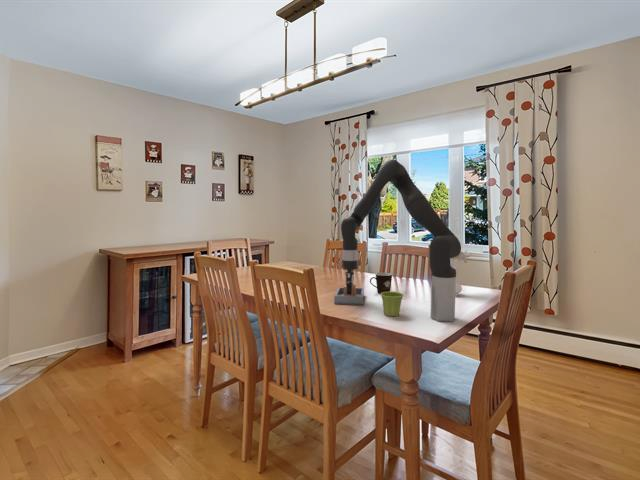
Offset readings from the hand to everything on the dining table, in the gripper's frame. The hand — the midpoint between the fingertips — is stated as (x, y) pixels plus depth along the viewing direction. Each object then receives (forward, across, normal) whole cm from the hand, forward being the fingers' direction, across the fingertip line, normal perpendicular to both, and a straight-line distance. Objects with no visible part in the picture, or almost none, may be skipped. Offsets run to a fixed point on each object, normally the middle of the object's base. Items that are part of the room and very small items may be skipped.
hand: (349, 292), depth 172 cm
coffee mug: (+4, +16, -15) cm, 22 cm away
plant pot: (+4, -22, -19) cm, 29 cm away
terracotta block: (+3, 0, 0) cm, 3 cm away
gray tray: (+4, 0, 0) cm, 4 cm away
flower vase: (+4, +18, -51) cm, 54 cm away
